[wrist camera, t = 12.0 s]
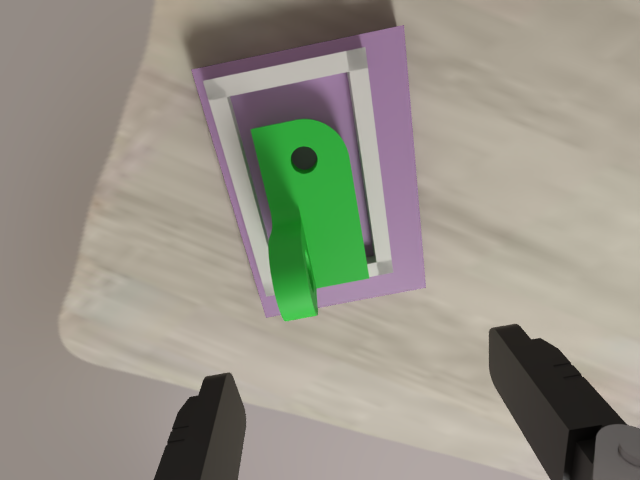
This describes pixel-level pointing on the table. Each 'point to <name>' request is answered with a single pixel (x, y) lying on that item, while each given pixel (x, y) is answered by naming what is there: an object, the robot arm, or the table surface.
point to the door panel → (343, 117)
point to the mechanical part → (309, 214)
